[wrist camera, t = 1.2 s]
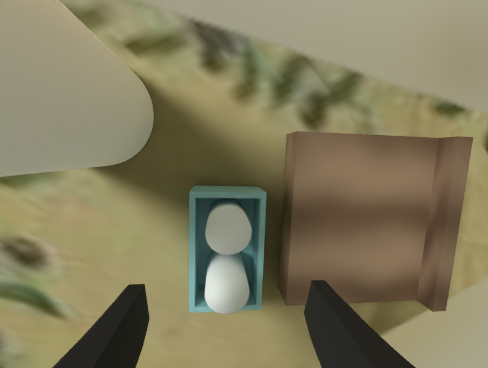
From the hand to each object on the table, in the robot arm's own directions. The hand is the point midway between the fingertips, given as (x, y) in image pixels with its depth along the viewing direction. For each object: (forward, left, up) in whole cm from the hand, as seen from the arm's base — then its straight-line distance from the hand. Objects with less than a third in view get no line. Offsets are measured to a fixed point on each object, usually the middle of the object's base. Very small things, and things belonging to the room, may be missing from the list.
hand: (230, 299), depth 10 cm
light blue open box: (-1, 0, -10) cm, 10 cm away
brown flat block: (+1, -12, -10) cm, 15 cm away
